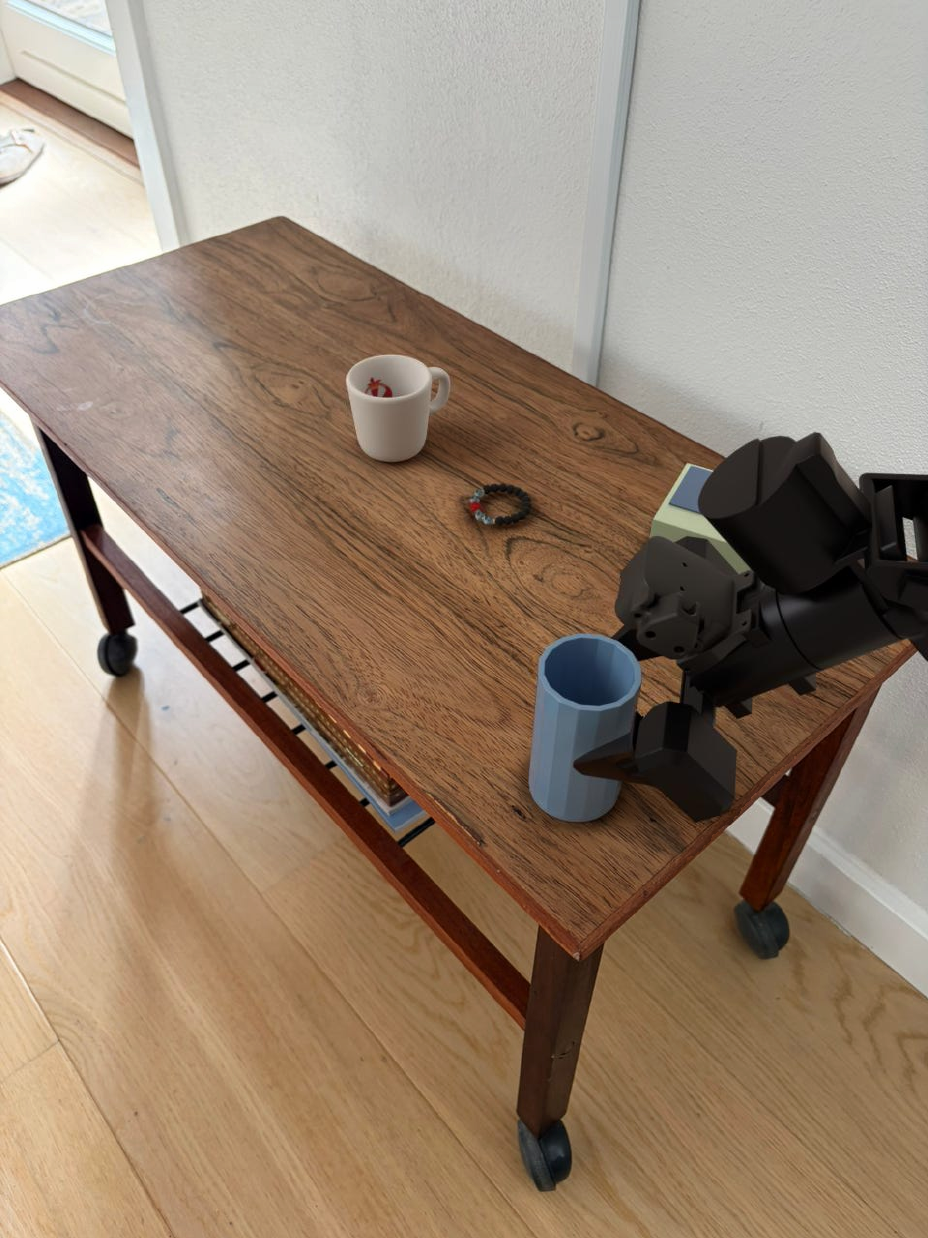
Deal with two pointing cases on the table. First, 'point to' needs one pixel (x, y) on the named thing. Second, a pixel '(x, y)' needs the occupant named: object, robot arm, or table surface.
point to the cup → (394, 404)
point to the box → (691, 515)
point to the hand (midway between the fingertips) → (587, 712)
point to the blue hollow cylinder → (580, 722)
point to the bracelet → (507, 520)
